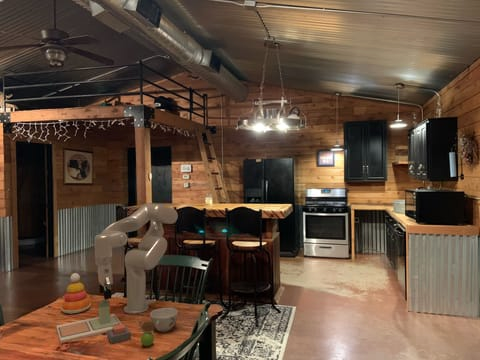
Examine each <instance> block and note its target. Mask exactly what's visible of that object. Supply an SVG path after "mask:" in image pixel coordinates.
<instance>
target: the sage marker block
mask: <svg viewBox="0 0 480 360" xmlns="http://www.w3.org/2000/svg"><path fill="white" fill-rule="evenodd" d="M98 317H99V323H100V324H101V325H102V324H107V323H110V300H109V299H106V300H105V299H102V300H99V301H98Z"/></svg>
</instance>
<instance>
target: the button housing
mask: <svg viewBox="0 0 480 360" xmlns="http://www.w3.org/2000/svg"><path fill="white" fill-rule="evenodd" d="M124 326H125V333H120V334H116V335H114V333H113V329H110V330H107V332H106V333H107V335H106V336H107V338H108V340H109V342H110V344H111V345H114V344H118V343H122V342H126V341H130V340H131V339H132V332H131V331H130V329H129V328H128V327H127V325H124Z"/></svg>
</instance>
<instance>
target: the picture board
mask: <svg viewBox="0 0 480 360" xmlns="http://www.w3.org/2000/svg"><path fill="white" fill-rule="evenodd" d="M120 324H122V323H121V321H120V320H119V318H118V317H117V316H116V314H115V313H111V314H110V323H107V324H102V325H101V324H100V323H99V316H96V317H91V318H87V319H82V320H77V321H72V322H67V323H63V324H58V325H56V331H57V335H58V340H59V342H60V344H62V343H67V342H71V341H74V340H81V339H84V338H87V337H88V338H89V337H92V336H97V335H101V334H105V333H107V330H110V329H113V326H115V325H120Z"/></svg>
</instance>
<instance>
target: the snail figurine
mask: <svg viewBox="0 0 480 360" xmlns="http://www.w3.org/2000/svg"><path fill="white" fill-rule="evenodd" d="M138 326H139V329H140V331H141V332H143V334H142V335H141V337H140V342H141V344H142V345H143V346H145V347H149V346H152V344H153V343H154V341H155V336H154V333H153V332H154V329H153V328H155V327H154V325H153V322H152V321H151V320H145V321H144V322H143V321H142V319H141V317H140V316H138Z"/></svg>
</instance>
